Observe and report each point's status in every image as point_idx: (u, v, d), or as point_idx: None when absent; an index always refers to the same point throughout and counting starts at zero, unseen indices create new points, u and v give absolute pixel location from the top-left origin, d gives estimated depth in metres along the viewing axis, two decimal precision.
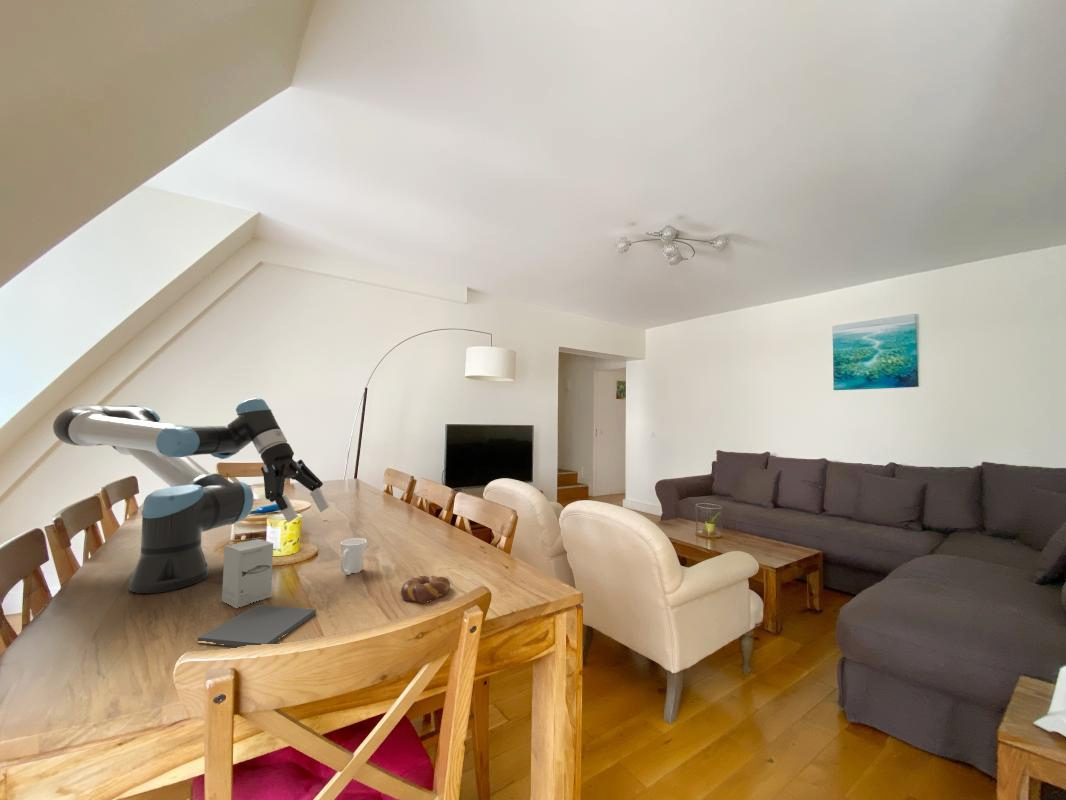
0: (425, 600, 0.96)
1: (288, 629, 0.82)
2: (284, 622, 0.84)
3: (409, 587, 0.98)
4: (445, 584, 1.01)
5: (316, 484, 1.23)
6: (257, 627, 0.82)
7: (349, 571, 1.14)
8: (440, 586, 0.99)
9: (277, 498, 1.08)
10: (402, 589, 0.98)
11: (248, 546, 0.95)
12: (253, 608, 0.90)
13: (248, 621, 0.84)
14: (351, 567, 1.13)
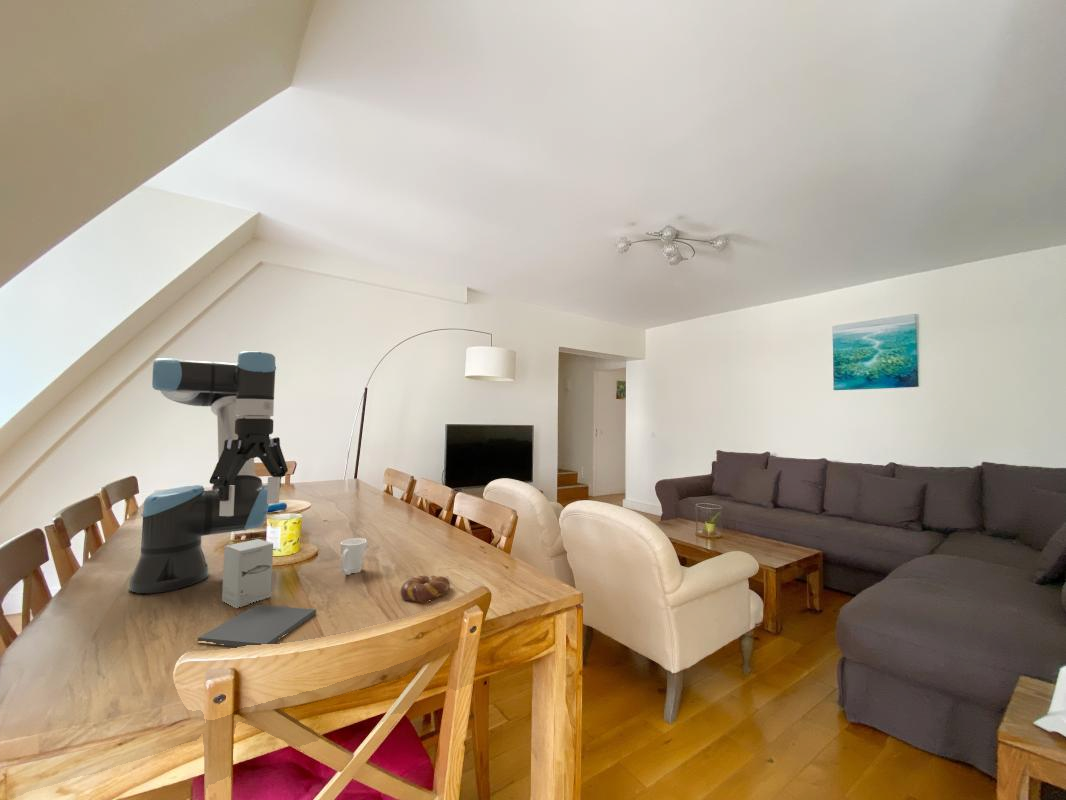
0: (425, 600, 0.96)
1: (288, 629, 0.82)
2: (284, 622, 0.84)
3: (409, 587, 0.98)
4: (445, 584, 1.01)
5: (279, 471, 1.05)
6: (257, 627, 0.82)
7: (349, 571, 1.14)
8: (439, 586, 0.99)
9: (222, 486, 0.90)
10: (402, 589, 0.98)
11: (248, 546, 0.95)
12: (253, 608, 0.90)
13: (248, 621, 0.84)
14: (351, 567, 1.13)
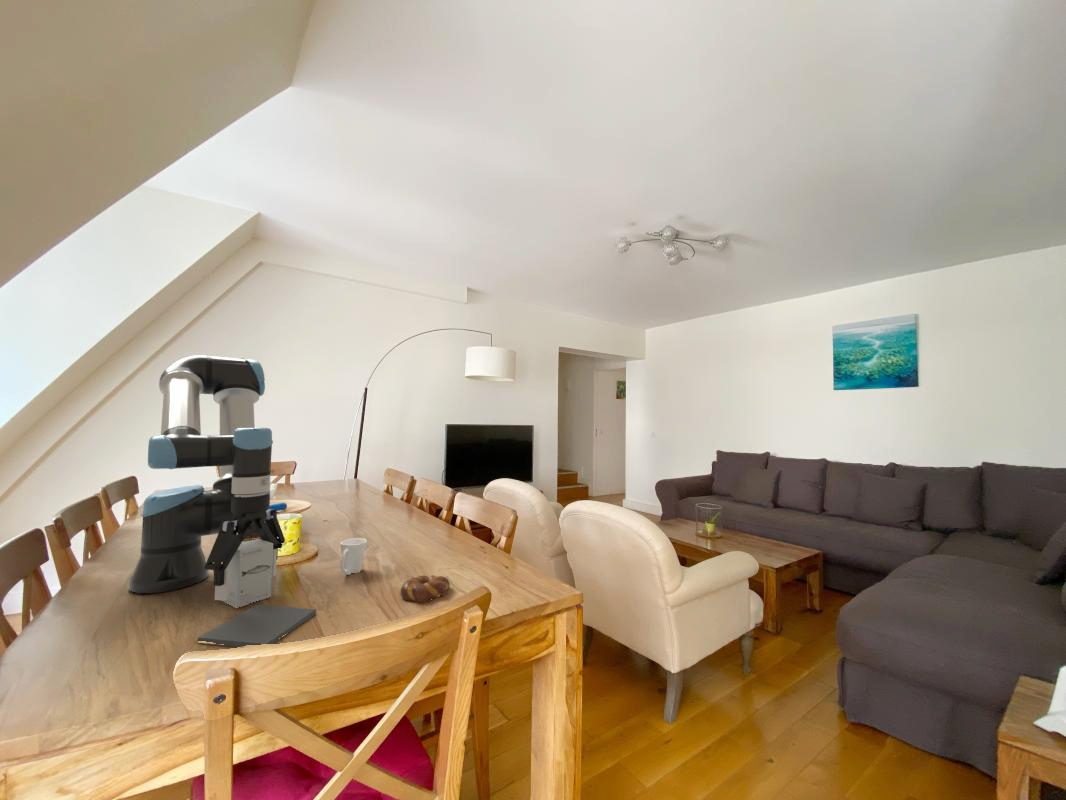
0: (425, 600, 0.96)
1: (288, 629, 0.82)
2: (284, 622, 0.84)
3: (409, 587, 0.98)
4: (445, 584, 1.01)
5: (276, 544, 1.04)
6: (257, 627, 0.82)
7: (349, 571, 1.14)
8: (439, 585, 0.99)
9: (217, 571, 0.89)
10: (402, 589, 0.98)
11: (248, 546, 0.95)
12: (253, 608, 0.90)
13: (248, 621, 0.84)
14: (351, 567, 1.13)
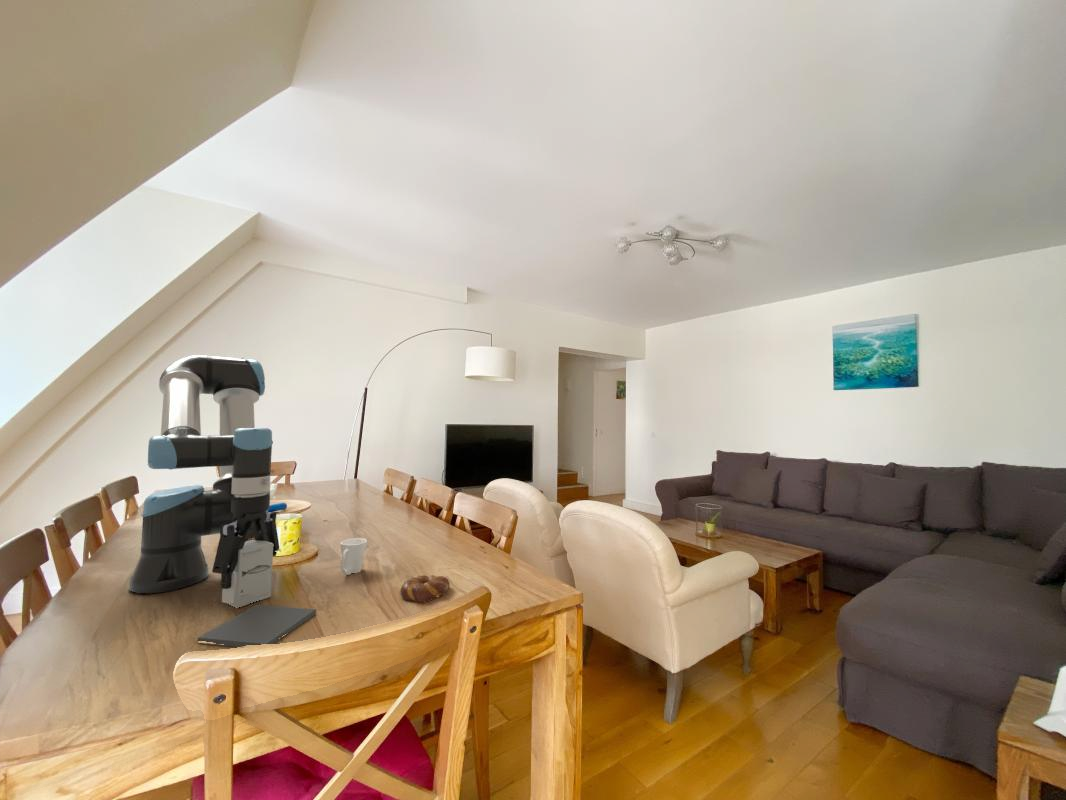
0: (424, 599, 0.96)
1: (288, 629, 0.82)
2: (284, 622, 0.84)
3: (408, 587, 0.98)
4: (444, 584, 1.01)
5: None
6: (257, 627, 0.82)
7: (349, 571, 1.14)
8: (439, 585, 0.99)
9: (224, 574, 0.90)
10: (402, 589, 0.98)
11: (248, 546, 0.95)
12: (253, 608, 0.90)
13: (248, 621, 0.84)
14: (351, 567, 1.13)
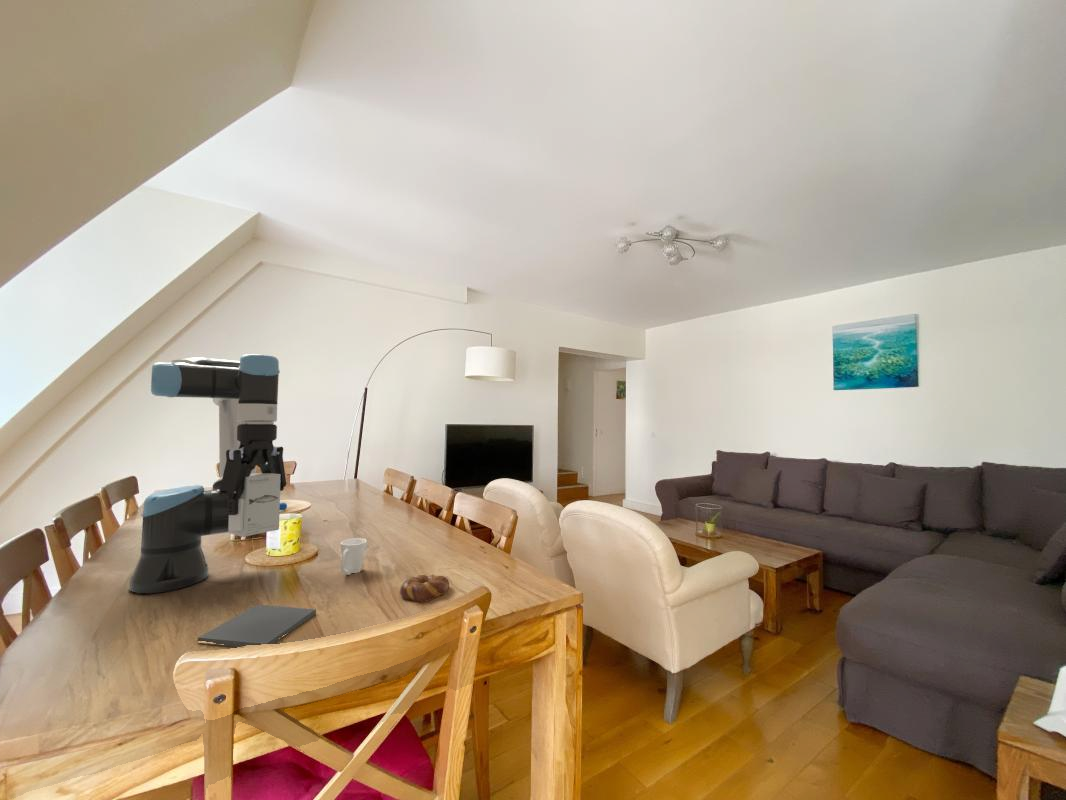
0: (424, 599, 0.96)
1: (288, 629, 0.82)
2: (284, 622, 0.84)
3: (408, 586, 0.98)
4: (444, 583, 1.01)
5: None
6: (257, 627, 0.82)
7: (349, 571, 1.14)
8: (439, 585, 0.99)
9: (231, 500, 0.87)
10: (401, 588, 0.99)
11: (255, 475, 0.92)
12: (253, 608, 0.90)
13: (248, 621, 0.84)
14: (351, 567, 1.13)
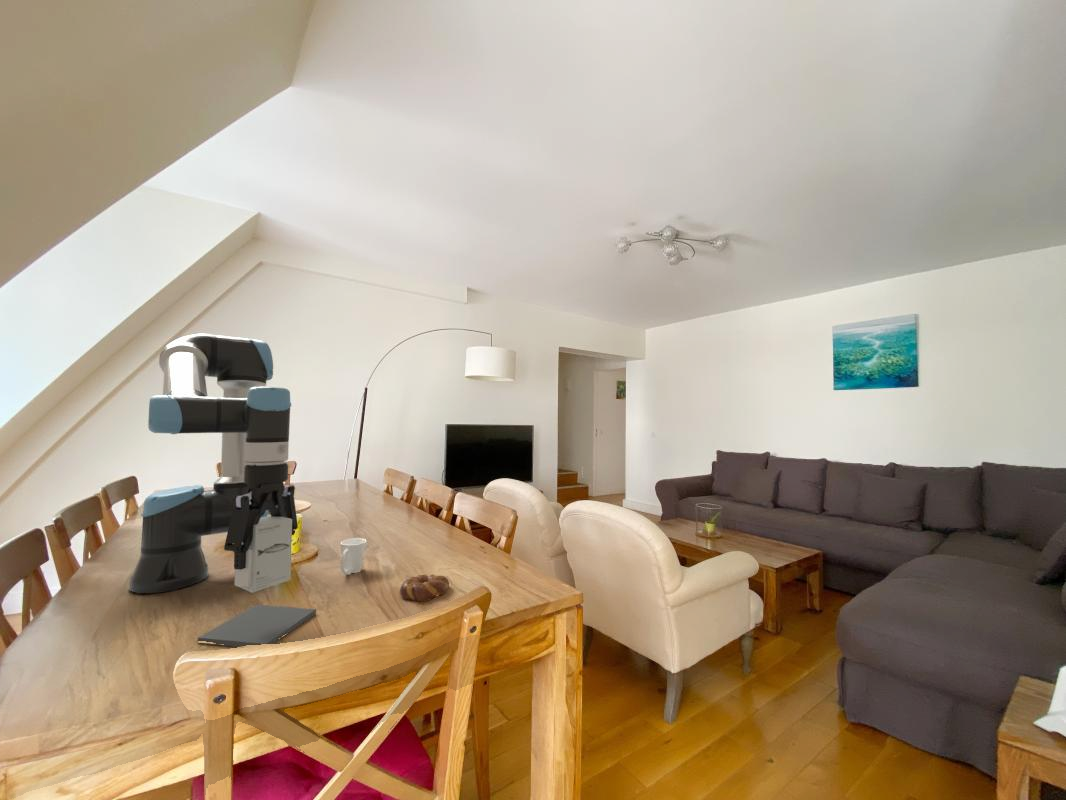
0: (424, 599, 0.96)
1: (288, 629, 0.82)
2: (284, 622, 0.84)
3: (408, 586, 0.99)
4: (444, 583, 1.01)
5: None
6: (257, 627, 0.82)
7: (349, 571, 1.14)
8: (438, 585, 1.00)
9: (238, 553, 0.78)
10: (401, 588, 0.99)
11: (264, 521, 0.83)
12: (253, 608, 0.90)
13: (248, 621, 0.84)
14: (351, 567, 1.13)
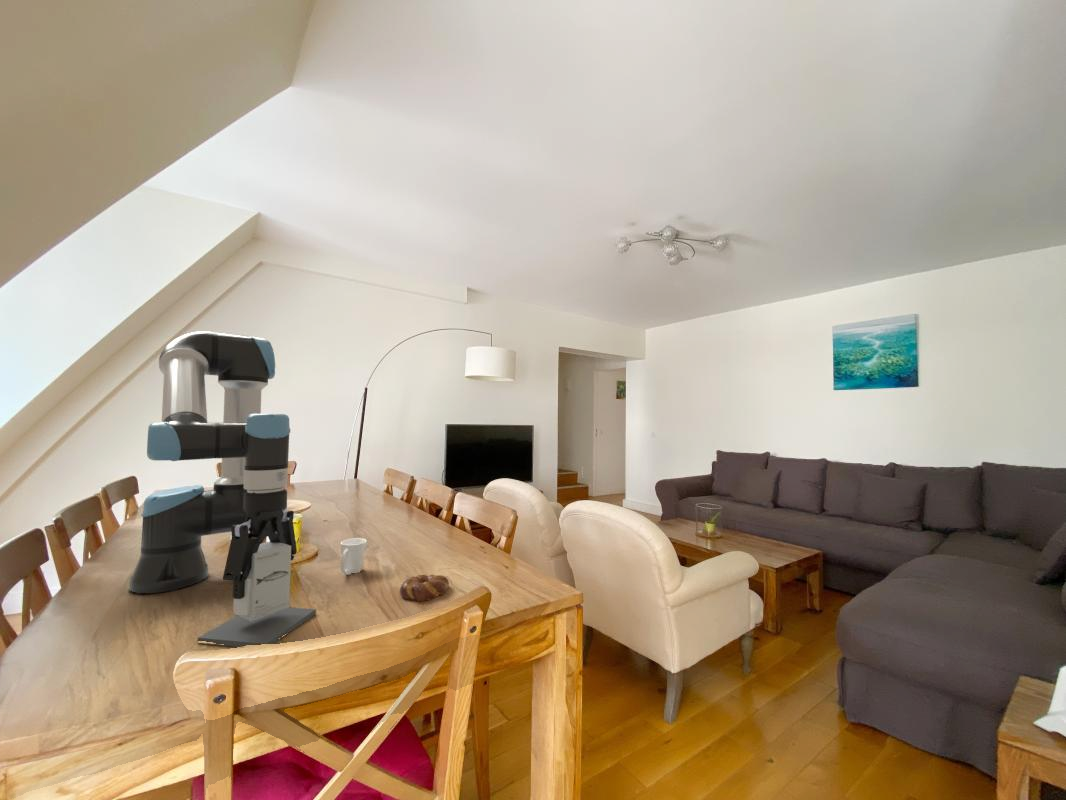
0: (424, 598, 0.97)
1: (288, 629, 0.82)
2: (284, 622, 0.84)
3: (408, 586, 0.99)
4: (444, 583, 1.02)
5: None
6: (257, 627, 0.82)
7: (349, 571, 1.14)
8: (438, 585, 1.00)
9: (237, 582, 0.78)
10: (401, 587, 0.99)
11: (263, 549, 0.83)
12: None
13: (248, 621, 0.84)
14: (351, 567, 1.13)
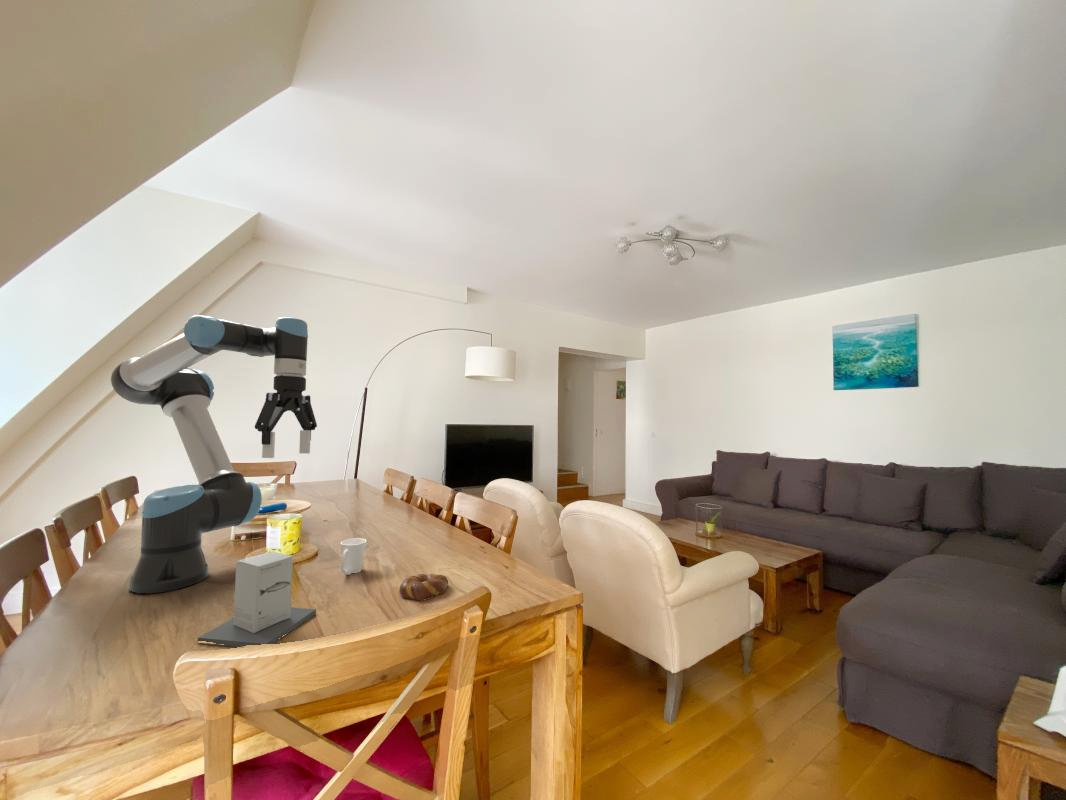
0: (423, 598, 0.97)
1: (288, 629, 0.82)
2: (284, 622, 0.84)
3: (407, 585, 0.99)
4: (443, 582, 1.02)
5: (310, 426, 1.19)
6: None
7: (349, 571, 1.14)
8: (438, 584, 1.00)
9: (265, 432, 1.04)
10: (401, 587, 0.99)
11: (265, 560, 0.83)
12: None
13: None
14: (351, 567, 1.13)
